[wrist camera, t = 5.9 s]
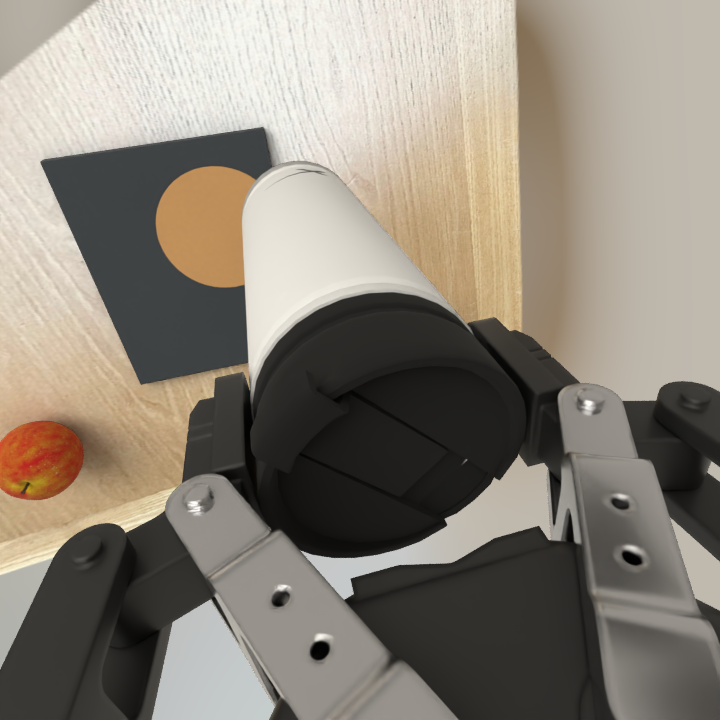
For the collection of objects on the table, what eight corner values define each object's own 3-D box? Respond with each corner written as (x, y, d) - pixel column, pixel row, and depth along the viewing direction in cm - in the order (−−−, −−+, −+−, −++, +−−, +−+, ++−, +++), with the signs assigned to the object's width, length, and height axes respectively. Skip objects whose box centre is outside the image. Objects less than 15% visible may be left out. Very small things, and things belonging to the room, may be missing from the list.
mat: (43, 159, 35) (39, 162, 34) (263, 127, 37) (264, 128, 36) (142, 380, 46) (140, 385, 45) (306, 346, 48) (308, 350, 47)
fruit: (82, 466, 50) (60, 529, 43) (4, 452, 47) (-33, 518, 41) (98, 416, 47) (77, 475, 41) (16, 398, 44) (-21, 458, 38)
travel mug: (285, 127, 24) (397, 286, 7) (378, 212, 27) (601, 453, 11) (212, 225, 26) (172, 532, 9) (308, 294, 29) (407, 612, 12)
